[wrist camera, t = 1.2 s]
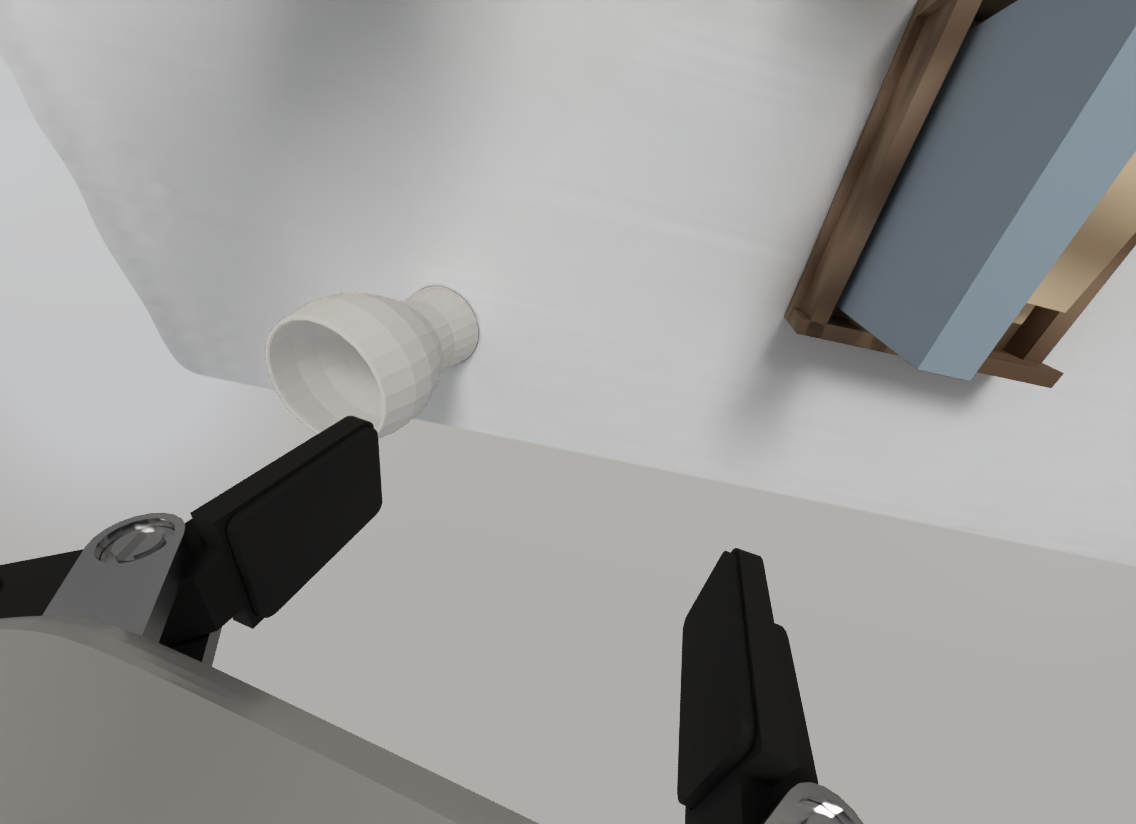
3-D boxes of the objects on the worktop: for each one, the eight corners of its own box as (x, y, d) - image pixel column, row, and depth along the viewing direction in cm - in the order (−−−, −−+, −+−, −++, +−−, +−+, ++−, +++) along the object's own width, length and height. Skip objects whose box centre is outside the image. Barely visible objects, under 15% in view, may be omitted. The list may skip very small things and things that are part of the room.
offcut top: (1088, 127, 20) (1114, 123, 19) (1180, 146, 19) (1214, 142, 18) (971, 287, 24) (987, 292, 23) (1045, 306, 24) (1065, 312, 22)
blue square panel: (946, 44, 22) (1238, -137, 10) (987, 48, 22) (1340, -135, 10) (827, 299, 29) (917, 369, 17) (856, 305, 29) (970, 381, 17)
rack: (918, -1, 22) (964, -43, 18) (1256, 25, 20) (1391, -18, 16) (784, 316, 31) (796, 333, 27) (1004, 362, 29) (1051, 388, 25)
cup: (513, 336, 38) (422, 404, 26) (450, 393, 44) (347, 474, 31) (435, 244, 36) (293, 269, 24) (378, 316, 42) (237, 369, 29)
